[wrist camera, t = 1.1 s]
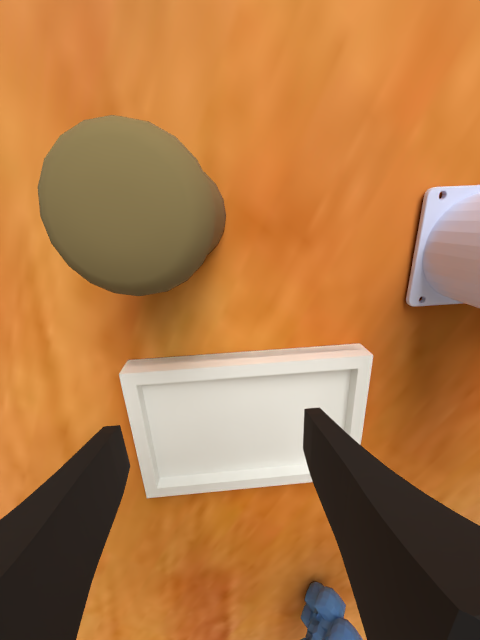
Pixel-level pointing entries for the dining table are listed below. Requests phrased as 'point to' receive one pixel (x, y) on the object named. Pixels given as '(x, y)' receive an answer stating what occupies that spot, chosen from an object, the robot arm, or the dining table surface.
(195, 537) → the dining table surface
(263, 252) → the dining table surface
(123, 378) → the white tray
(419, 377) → the dining table surface
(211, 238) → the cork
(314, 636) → the grapes
